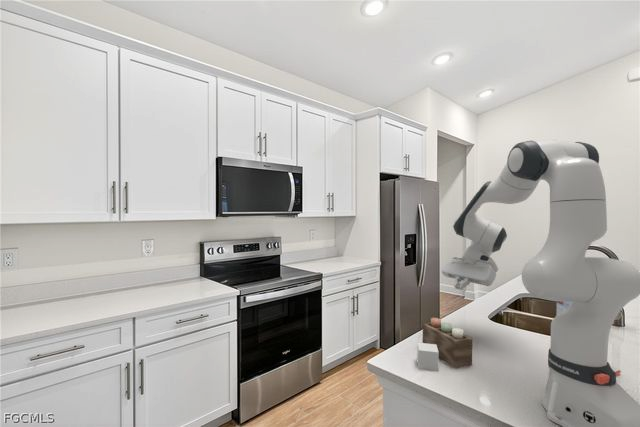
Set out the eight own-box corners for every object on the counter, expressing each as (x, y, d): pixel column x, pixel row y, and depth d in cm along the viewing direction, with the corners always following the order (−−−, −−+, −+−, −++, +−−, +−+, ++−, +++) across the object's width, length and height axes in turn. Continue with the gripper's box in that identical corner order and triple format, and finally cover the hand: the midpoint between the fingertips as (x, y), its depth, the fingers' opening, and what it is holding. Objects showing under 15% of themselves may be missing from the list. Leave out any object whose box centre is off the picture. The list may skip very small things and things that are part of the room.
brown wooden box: (472, 365, 103) (472, 338, 103) (455, 368, 101) (455, 341, 101) (437, 345, 118) (438, 321, 118) (422, 347, 116) (422, 323, 116)
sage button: (453, 332, 108) (453, 325, 108) (445, 333, 107) (445, 326, 107) (446, 328, 112) (446, 322, 112) (438, 330, 111) (438, 323, 110)
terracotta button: (442, 327, 113) (443, 320, 113) (435, 328, 112) (435, 321, 112) (436, 323, 117) (436, 317, 117) (428, 324, 115) (428, 318, 115)
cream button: (465, 338, 104) (465, 331, 104) (457, 339, 102) (457, 332, 102) (457, 334, 107) (457, 327, 107) (449, 335, 106) (449, 328, 106)
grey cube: (417, 360, 107) (417, 342, 107) (436, 362, 105) (436, 344, 105) (418, 368, 101) (418, 350, 101) (438, 371, 100) (438, 352, 99)
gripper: (448, 252, 133) (431, 277, 128) (496, 258, 115) (479, 289, 111) (454, 261, 135) (439, 287, 131) (502, 270, 118) (486, 299, 113)
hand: (457, 288), depth 121 cm, fingers closed
